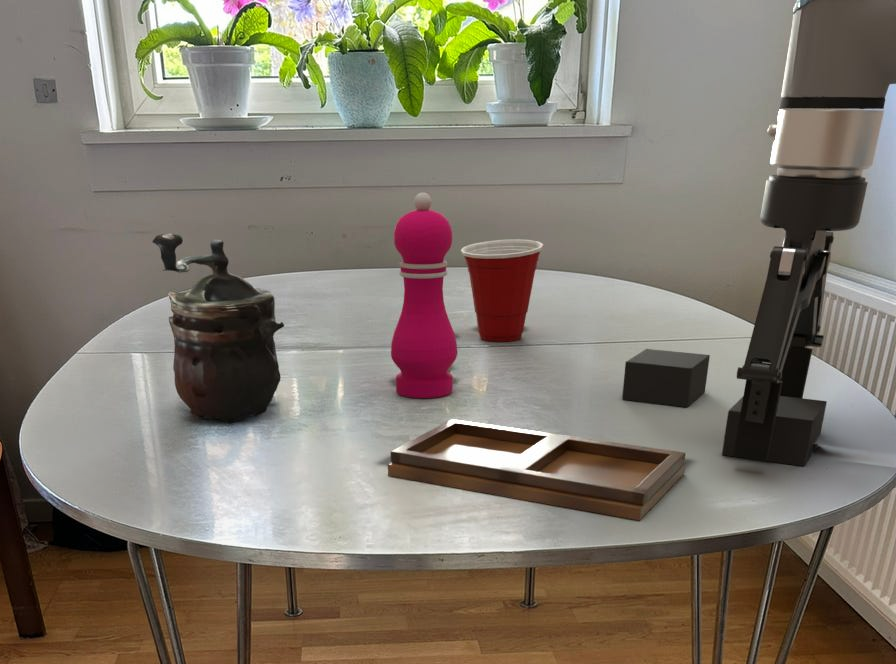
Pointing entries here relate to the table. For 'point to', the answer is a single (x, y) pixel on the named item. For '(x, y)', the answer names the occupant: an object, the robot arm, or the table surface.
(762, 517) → the table surface
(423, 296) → the pepper mill
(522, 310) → the plastic cup
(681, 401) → the dark grey square block
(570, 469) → the divided wooden tray
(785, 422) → the black square block
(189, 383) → the coffee grinder
